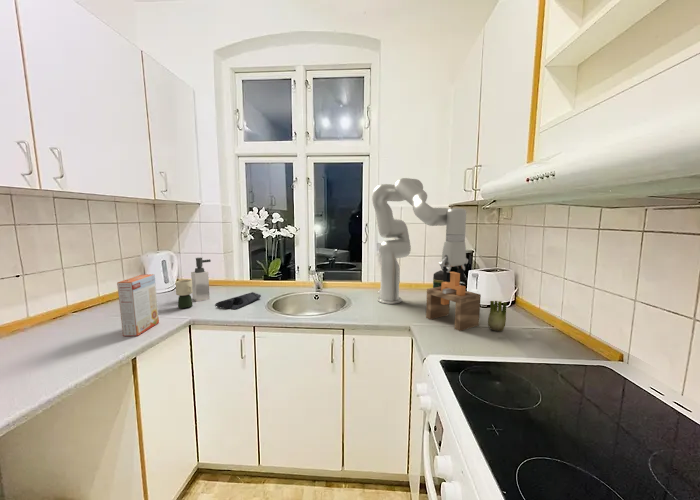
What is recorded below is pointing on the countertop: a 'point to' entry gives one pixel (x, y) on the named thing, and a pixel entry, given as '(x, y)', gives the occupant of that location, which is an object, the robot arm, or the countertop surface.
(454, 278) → the orange stepped arch block
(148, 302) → the cracker box
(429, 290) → the small wooden table
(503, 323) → the fennel bulb
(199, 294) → the soap dispenser
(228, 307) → the dark slate chunk
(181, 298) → the character mug
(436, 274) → the coffee jar
